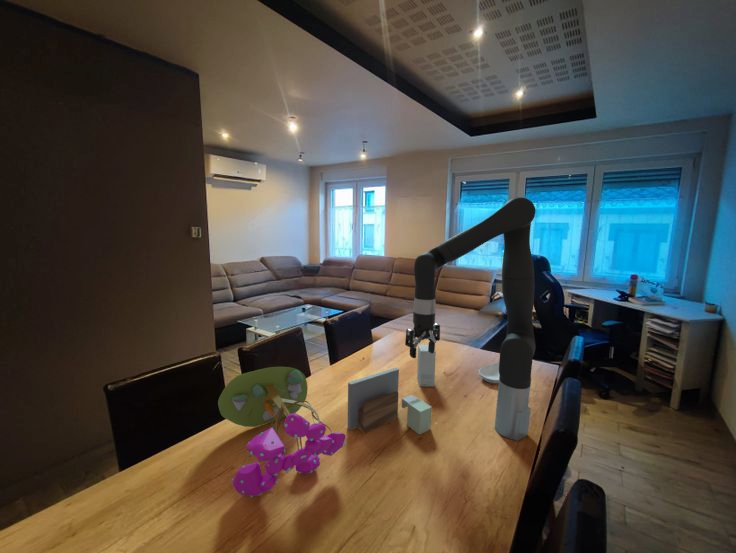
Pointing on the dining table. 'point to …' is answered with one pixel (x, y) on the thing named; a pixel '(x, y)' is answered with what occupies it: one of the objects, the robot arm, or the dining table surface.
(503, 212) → the robot arm
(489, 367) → the spoon rest
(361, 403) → the wall board
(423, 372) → the skincare box
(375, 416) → the brown wooden block
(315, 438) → the magenta clustered figurine
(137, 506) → the dining table surface
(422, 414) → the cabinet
